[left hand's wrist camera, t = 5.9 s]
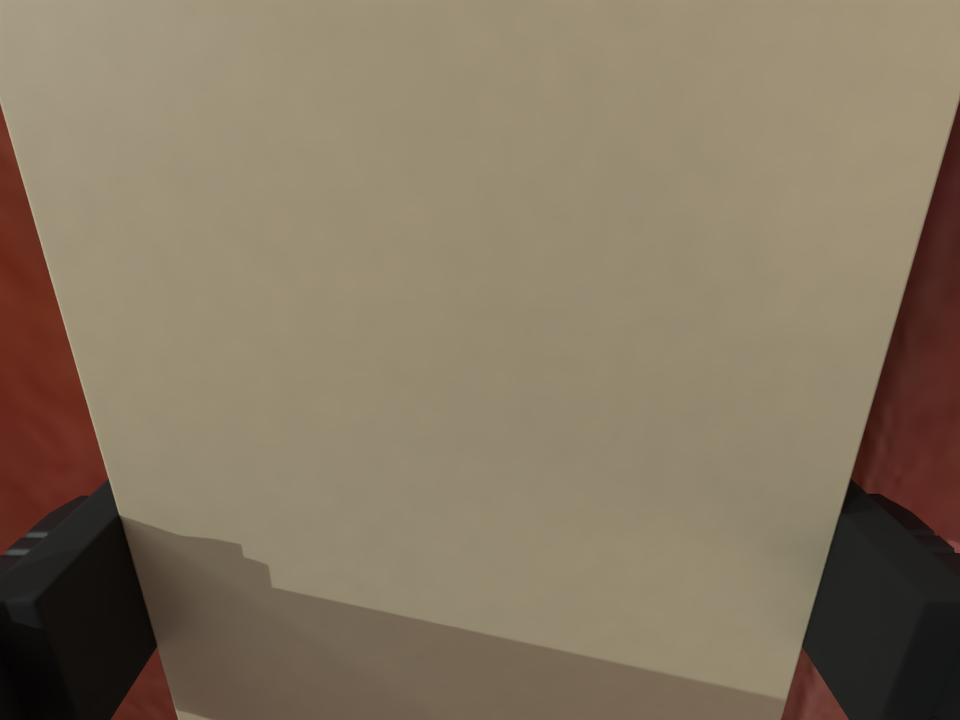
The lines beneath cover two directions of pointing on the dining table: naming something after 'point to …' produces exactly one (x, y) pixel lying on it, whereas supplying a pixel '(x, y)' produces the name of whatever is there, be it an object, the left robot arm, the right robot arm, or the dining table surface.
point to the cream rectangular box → (479, 330)
